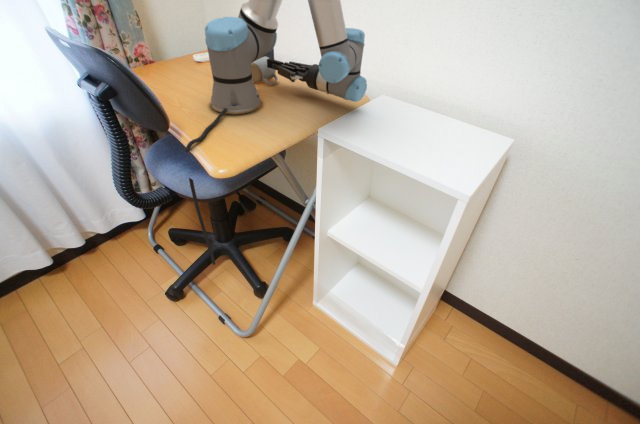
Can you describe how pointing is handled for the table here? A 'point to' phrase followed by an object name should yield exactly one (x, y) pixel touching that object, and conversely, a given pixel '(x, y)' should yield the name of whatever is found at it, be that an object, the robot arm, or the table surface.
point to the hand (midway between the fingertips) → (268, 62)
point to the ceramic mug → (262, 71)
